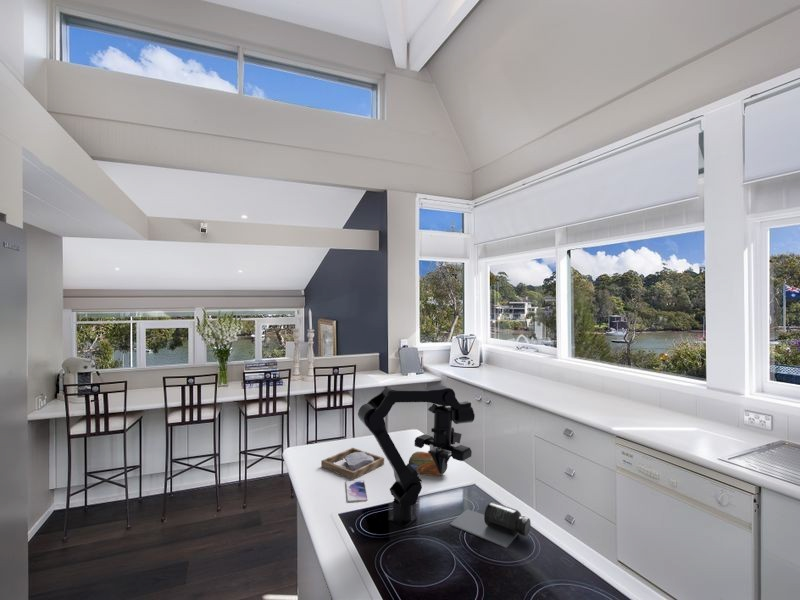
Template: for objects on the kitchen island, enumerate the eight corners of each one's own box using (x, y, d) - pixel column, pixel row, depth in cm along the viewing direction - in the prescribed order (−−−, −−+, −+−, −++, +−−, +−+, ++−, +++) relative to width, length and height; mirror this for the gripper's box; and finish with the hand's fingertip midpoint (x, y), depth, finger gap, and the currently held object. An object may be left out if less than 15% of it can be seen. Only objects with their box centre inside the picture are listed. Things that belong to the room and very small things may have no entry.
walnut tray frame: (353, 479, 152) (353, 472, 152) (321, 466, 163) (321, 460, 163) (384, 464, 166) (384, 458, 166) (352, 453, 177) (352, 447, 177)
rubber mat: (506, 548, 111) (506, 546, 111) (450, 525, 122) (450, 523, 122) (521, 530, 120) (521, 528, 120) (467, 509, 131) (467, 508, 131)
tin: (408, 474, 157) (408, 452, 157) (409, 470, 160) (409, 449, 160) (447, 476, 155) (447, 455, 155) (447, 473, 158) (447, 451, 158)
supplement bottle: (495, 511, 125) (533, 525, 118) (486, 530, 121) (525, 546, 113) (491, 496, 123) (529, 509, 116) (481, 514, 118) (521, 529, 111)
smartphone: (364, 480, 151) (367, 500, 136) (364, 482, 151) (367, 502, 136) (345, 480, 149) (346, 501, 135) (345, 483, 149) (346, 503, 135)
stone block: (355, 477, 157) (377, 467, 163) (353, 466, 157) (375, 455, 162) (342, 468, 167) (363, 458, 173) (340, 457, 167) (361, 447, 172)
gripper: (480, 426, 130) (479, 474, 130) (433, 414, 142) (432, 458, 142) (462, 434, 121) (461, 485, 121) (414, 420, 133) (412, 467, 133)
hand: (441, 473), depth 130 cm, fingers closed
